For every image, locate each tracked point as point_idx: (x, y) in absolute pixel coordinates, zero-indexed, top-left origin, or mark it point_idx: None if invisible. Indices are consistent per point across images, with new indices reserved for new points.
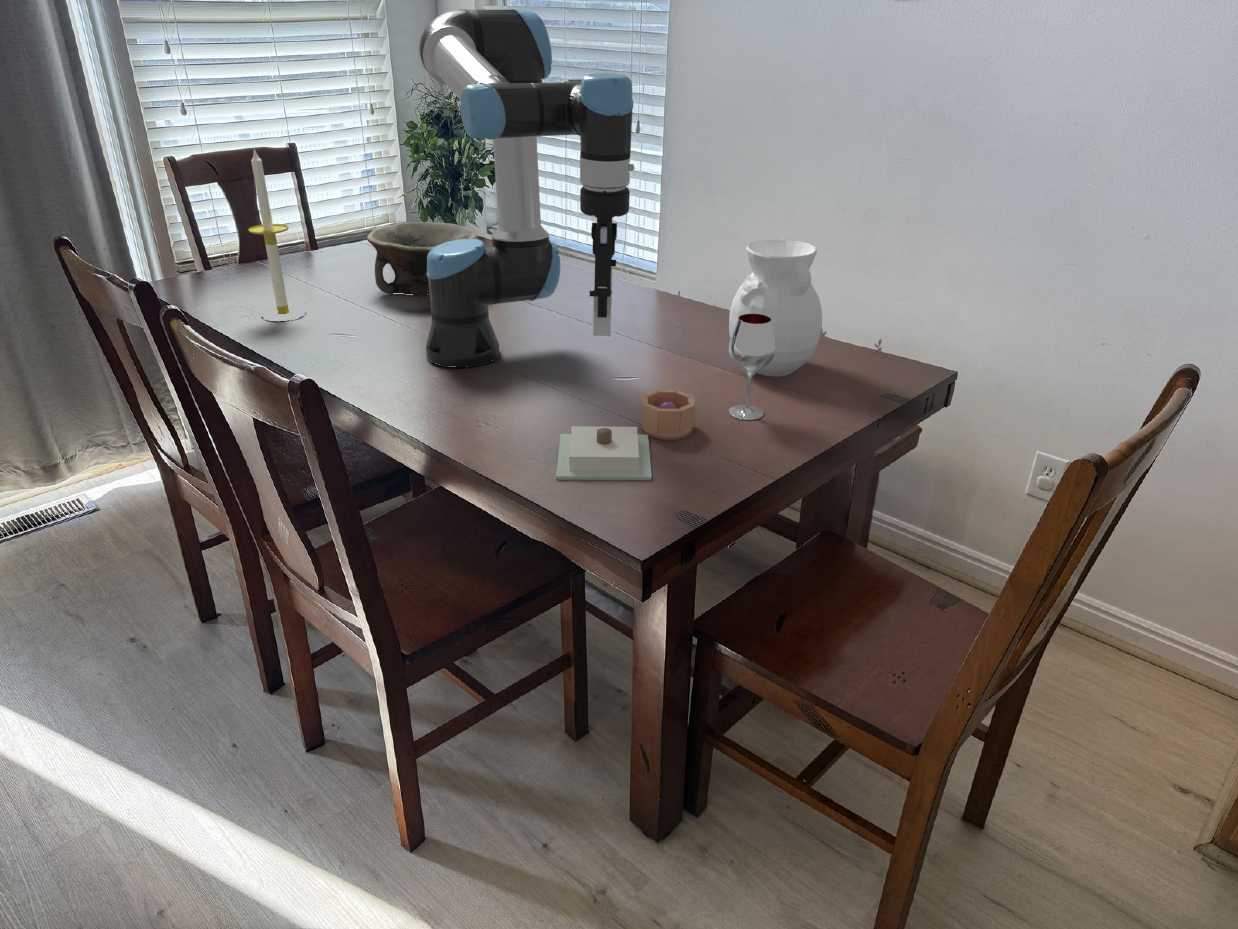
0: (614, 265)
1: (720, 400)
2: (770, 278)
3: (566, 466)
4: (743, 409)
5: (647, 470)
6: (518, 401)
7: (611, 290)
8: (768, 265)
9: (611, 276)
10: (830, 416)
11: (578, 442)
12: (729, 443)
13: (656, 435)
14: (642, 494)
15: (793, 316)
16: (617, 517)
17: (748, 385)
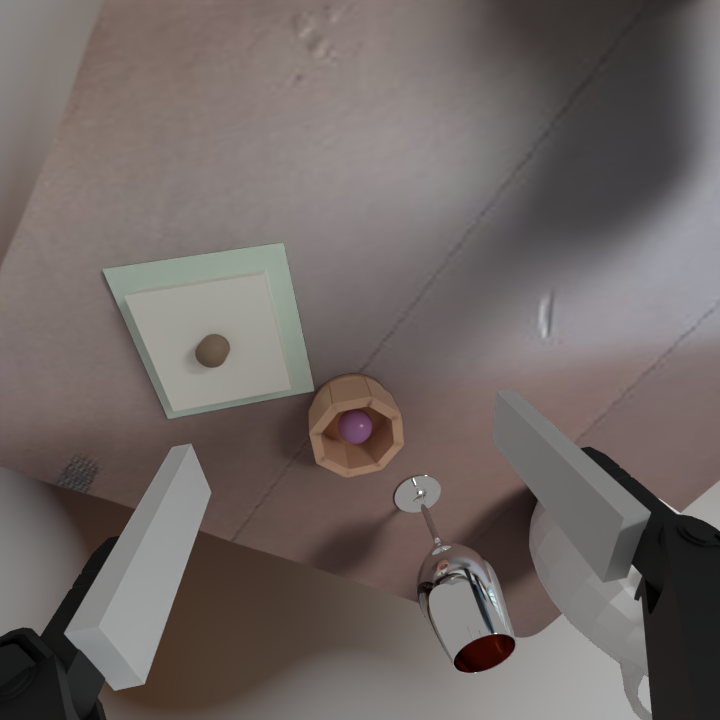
0: (639, 594)
1: (457, 460)
2: None
3: (149, 281)
4: (417, 495)
5: (187, 410)
6: (441, 105)
7: (528, 485)
8: None
9: (572, 539)
10: (415, 568)
11: (194, 301)
12: (319, 487)
13: (312, 403)
14: (119, 411)
15: (579, 624)
16: (26, 390)
17: (429, 529)
